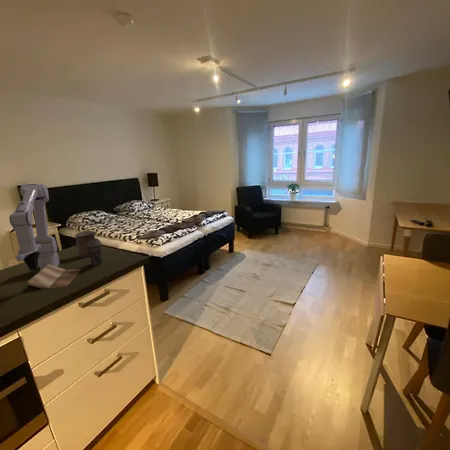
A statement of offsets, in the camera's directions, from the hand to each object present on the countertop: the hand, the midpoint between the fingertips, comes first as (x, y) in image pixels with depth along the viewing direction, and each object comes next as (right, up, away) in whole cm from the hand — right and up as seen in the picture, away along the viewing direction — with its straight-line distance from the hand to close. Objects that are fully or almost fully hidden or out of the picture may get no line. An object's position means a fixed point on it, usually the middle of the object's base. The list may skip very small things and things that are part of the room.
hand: (33, 269), depth 109 cm
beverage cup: (+15, -3, +25) cm, 29 cm away
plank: (0, -5, +8) cm, 9 cm away
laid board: (+8, -7, +10) cm, 15 cm away
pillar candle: (+2, +1, +39) cm, 39 cm away
